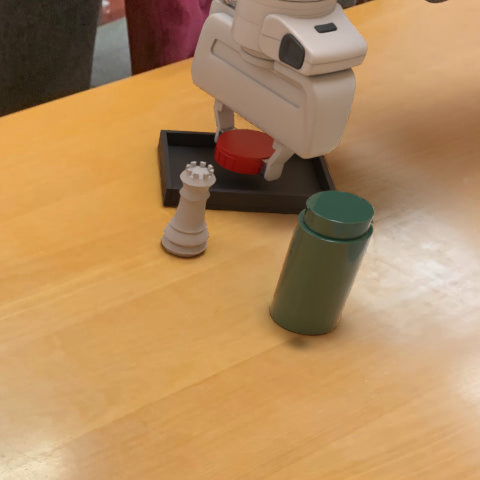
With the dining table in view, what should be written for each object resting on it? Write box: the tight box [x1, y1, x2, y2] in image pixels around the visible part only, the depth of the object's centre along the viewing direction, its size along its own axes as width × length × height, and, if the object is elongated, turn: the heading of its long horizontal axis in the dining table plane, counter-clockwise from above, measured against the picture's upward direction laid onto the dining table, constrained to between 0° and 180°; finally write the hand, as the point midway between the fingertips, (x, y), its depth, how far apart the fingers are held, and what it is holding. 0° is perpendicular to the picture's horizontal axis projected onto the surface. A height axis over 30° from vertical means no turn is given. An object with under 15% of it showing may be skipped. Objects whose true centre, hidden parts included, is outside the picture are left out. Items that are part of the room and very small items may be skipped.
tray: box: [157, 129, 337, 215], centre depth 95 cm, size 17×13×2 cm
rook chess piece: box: [160, 161, 216, 258], centre depth 84 cm, size 4×4×8 cm
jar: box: [269, 190, 376, 336], centre depth 76 cm, size 6×6×10 cm
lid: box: [214, 128, 276, 175], centre depth 93 cm, size 7×7×2 cm
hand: (246, 160), depth 94 cm, fingers closed on lid, 6 cm apart
